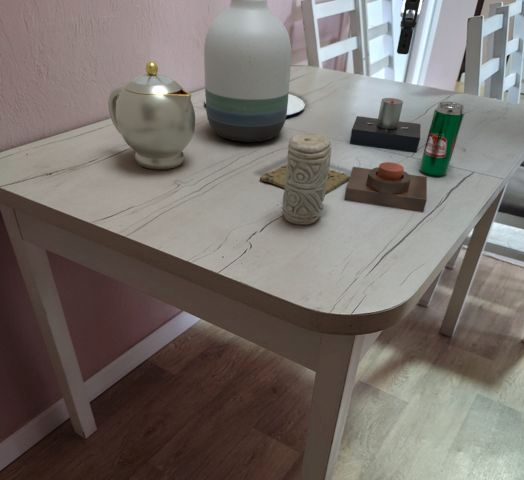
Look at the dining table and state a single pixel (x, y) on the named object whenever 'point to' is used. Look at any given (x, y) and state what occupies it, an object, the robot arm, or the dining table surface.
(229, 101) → the vase
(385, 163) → the release button
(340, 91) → the dining table surface
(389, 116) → the dial
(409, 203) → the button console
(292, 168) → the carving
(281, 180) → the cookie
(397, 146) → the dial panel
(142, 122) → the teapot
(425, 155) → the soda can
